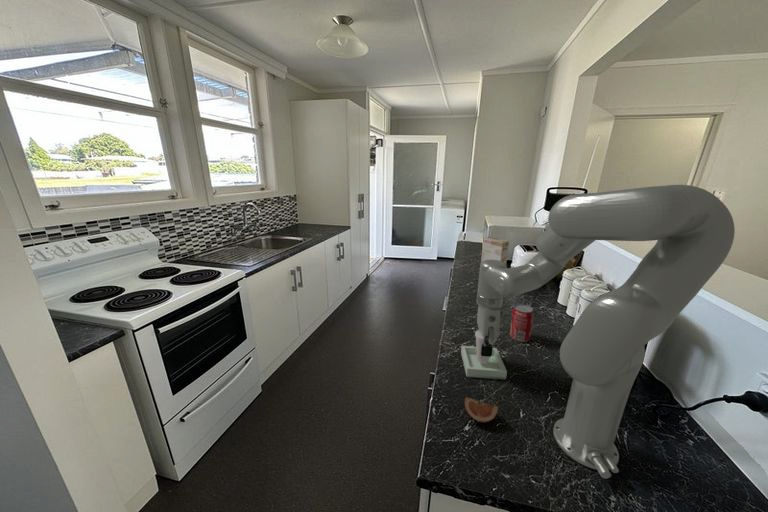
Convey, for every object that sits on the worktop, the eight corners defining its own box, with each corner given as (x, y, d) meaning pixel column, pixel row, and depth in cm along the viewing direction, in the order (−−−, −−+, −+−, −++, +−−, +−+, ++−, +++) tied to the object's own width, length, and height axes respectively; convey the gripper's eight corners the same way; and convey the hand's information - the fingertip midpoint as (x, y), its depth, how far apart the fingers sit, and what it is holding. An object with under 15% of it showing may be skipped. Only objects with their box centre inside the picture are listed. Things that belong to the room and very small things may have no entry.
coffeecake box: (505, 269, 182) (509, 241, 176) (499, 271, 179) (502, 242, 173) (487, 263, 194) (490, 236, 189) (480, 265, 191) (483, 238, 185)
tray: (505, 379, 86) (507, 371, 85) (466, 376, 87) (467, 368, 86) (495, 355, 97) (496, 348, 96) (460, 352, 98) (461, 345, 98)
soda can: (532, 344, 103) (537, 313, 99) (511, 342, 104) (516, 311, 101) (526, 334, 110) (531, 304, 106) (507, 332, 111) (511, 303, 107)
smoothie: (479, 367, 88) (484, 329, 83) (468, 355, 93) (472, 318, 89) (497, 363, 89) (502, 326, 85) (485, 351, 95) (489, 316, 91)
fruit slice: (497, 412, 74) (499, 397, 73) (495, 433, 68) (498, 417, 67) (465, 402, 77) (466, 388, 76) (461, 421, 71) (463, 406, 70)
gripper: (511, 313, 76) (503, 367, 82) (494, 288, 93) (489, 335, 98) (483, 312, 77) (477, 365, 82) (471, 287, 94) (467, 333, 99)
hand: (483, 348), depth 90 cm, fingers closed on smoothie, 6 cm apart
